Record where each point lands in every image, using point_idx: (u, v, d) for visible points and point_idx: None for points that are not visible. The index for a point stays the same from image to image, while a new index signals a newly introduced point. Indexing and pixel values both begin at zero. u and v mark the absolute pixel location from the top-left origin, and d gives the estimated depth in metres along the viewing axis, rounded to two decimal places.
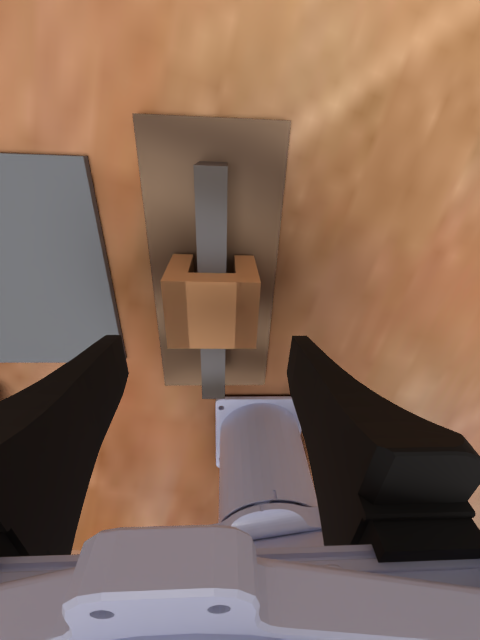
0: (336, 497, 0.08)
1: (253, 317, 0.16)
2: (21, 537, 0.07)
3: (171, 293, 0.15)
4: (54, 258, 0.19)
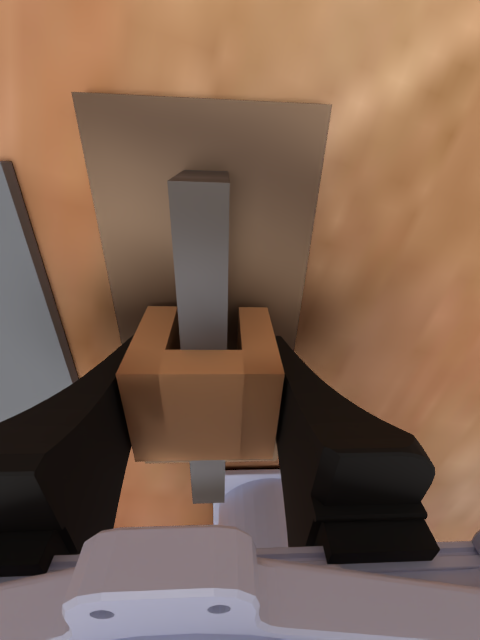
0: (297, 497, 0.08)
1: (270, 420, 0.10)
2: (72, 535, 0.07)
3: (135, 391, 0.09)
4: None
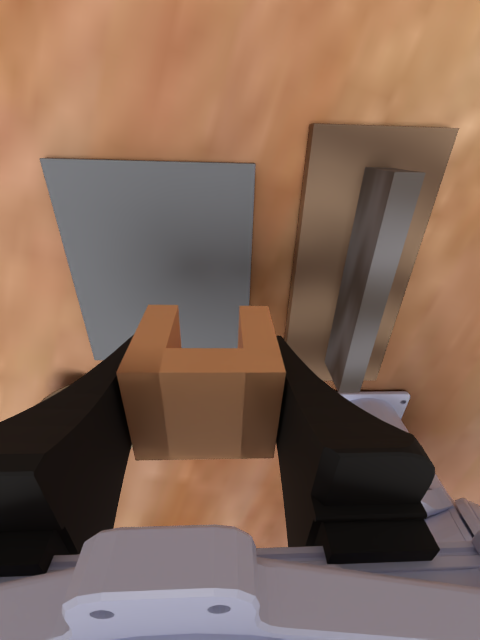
0: (296, 498, 0.08)
1: (271, 419, 0.10)
2: (72, 536, 0.07)
3: (136, 389, 0.09)
4: (205, 260, 0.20)
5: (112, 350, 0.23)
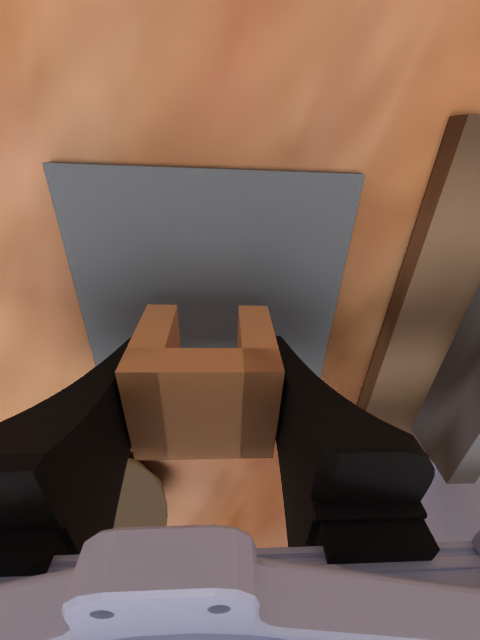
0: (296, 498, 0.08)
1: (270, 419, 0.10)
2: (72, 536, 0.07)
3: (135, 389, 0.09)
4: (273, 306, 0.14)
5: None
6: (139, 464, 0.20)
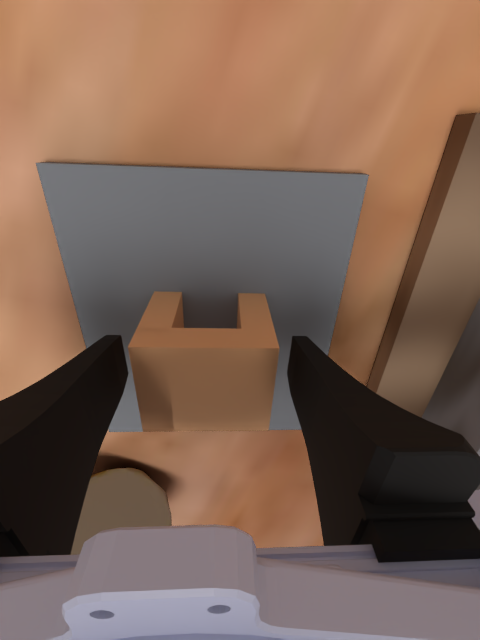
0: (336, 497, 0.08)
1: (266, 393, 0.11)
2: (21, 537, 0.07)
3: (145, 363, 0.10)
4: (274, 309, 0.14)
5: (133, 420, 0.17)
6: (144, 475, 0.20)
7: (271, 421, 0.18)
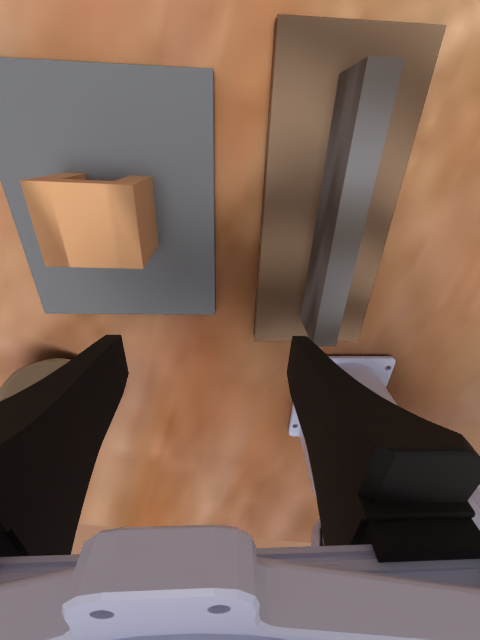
0: (336, 497, 0.08)
1: (132, 229, 0.15)
2: (21, 537, 0.07)
3: (35, 196, 0.14)
4: (162, 191, 0.18)
5: (64, 301, 0.21)
6: None
7: (179, 305, 0.21)
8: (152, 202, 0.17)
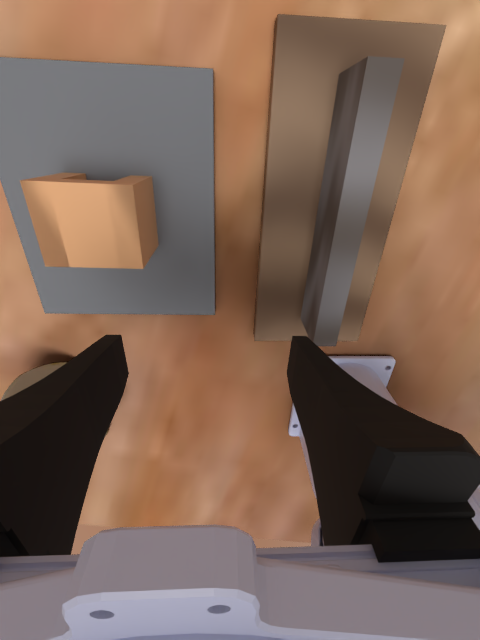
0: (336, 497, 0.08)
1: (132, 229, 0.15)
2: (21, 537, 0.07)
3: (35, 196, 0.14)
4: (162, 191, 0.18)
5: (64, 301, 0.21)
6: None
7: (179, 305, 0.21)
8: (152, 202, 0.17)
